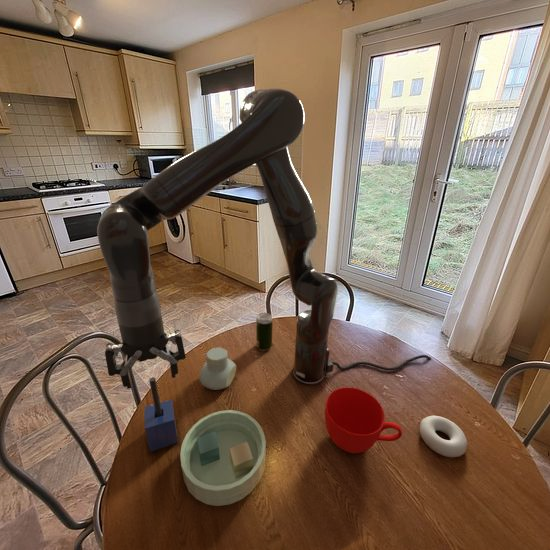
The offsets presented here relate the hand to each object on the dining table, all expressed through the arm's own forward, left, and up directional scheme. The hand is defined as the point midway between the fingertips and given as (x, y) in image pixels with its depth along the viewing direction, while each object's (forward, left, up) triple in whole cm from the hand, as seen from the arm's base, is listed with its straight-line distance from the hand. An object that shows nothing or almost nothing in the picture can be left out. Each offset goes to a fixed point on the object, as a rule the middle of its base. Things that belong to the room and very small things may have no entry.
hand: (152, 380), depth 61 cm
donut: (-61, +25, -18) cm, 68 cm away
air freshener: (-16, -13, -18) cm, 27 cm away
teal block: (-9, +8, -17) cm, 21 cm away
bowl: (-12, +11, -18) cm, 24 cm away
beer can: (-34, -23, -18) cm, 45 cm away
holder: (0, 0, -18) cm, 18 cm away
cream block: (-15, +13, -17) cm, 27 cm away
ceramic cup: (-42, +18, -18) cm, 49 cm away
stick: (0, 0, -18) cm, 18 cm away
